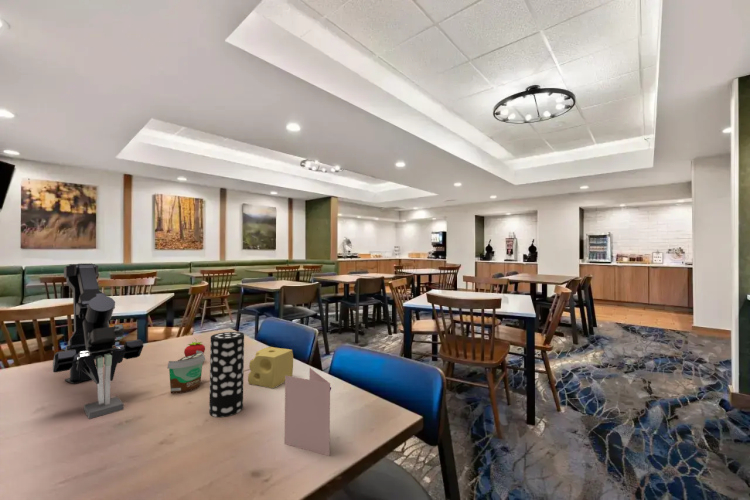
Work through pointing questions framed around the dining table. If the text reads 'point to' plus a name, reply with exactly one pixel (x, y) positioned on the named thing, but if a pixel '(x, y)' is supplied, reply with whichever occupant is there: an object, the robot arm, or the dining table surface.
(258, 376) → the cheese
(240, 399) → the white-spotted black cylinder
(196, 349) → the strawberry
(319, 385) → the greeting card
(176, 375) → the food container
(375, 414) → the dining table surface
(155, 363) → the dining table surface
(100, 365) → the swinging tong arm
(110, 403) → the stand
